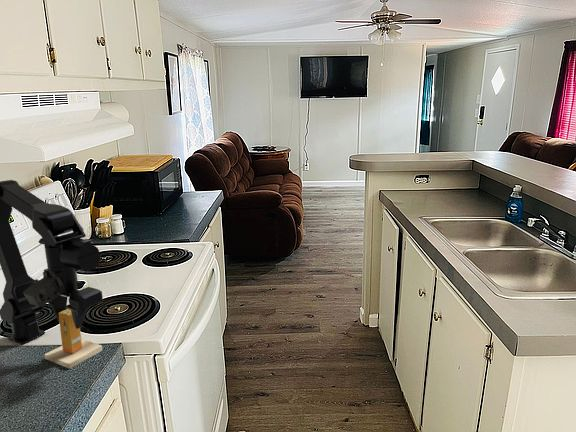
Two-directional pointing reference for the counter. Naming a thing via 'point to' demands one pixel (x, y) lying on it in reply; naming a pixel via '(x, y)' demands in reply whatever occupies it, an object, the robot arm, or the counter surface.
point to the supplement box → (69, 332)
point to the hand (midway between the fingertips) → (70, 325)
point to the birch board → (75, 358)
